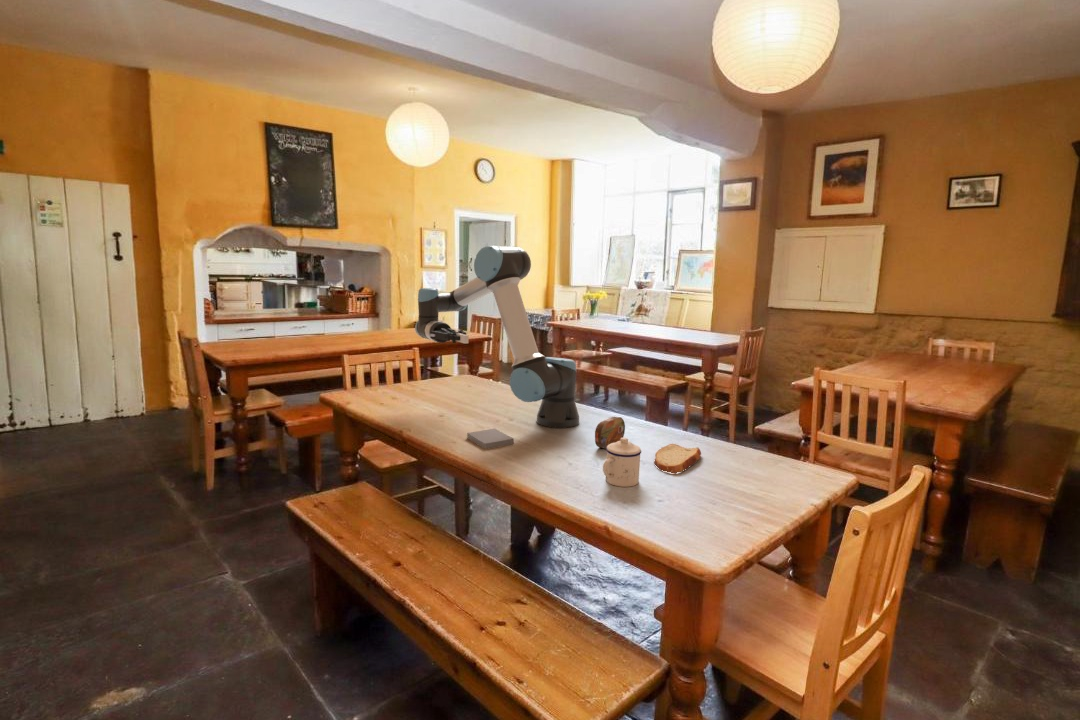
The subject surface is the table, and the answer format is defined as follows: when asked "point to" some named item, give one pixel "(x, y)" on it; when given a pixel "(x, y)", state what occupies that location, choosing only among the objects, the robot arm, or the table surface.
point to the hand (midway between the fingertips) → (466, 339)
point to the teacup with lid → (622, 463)
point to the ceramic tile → (490, 438)
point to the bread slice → (676, 458)
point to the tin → (609, 431)
